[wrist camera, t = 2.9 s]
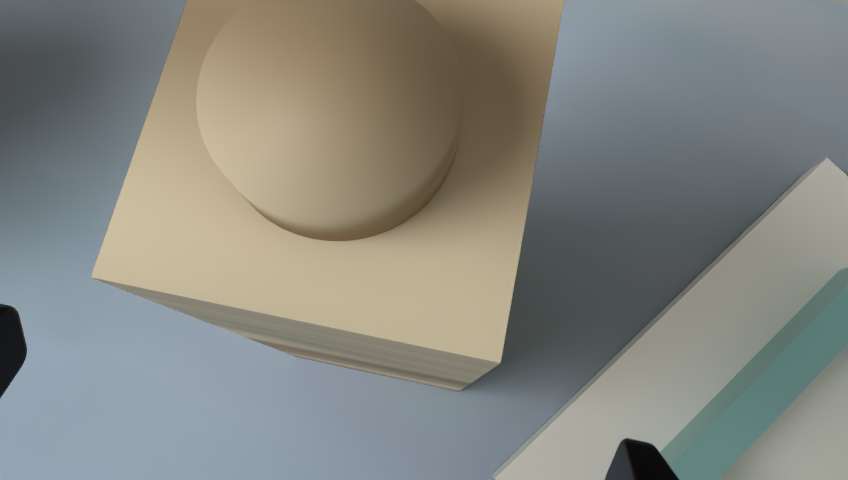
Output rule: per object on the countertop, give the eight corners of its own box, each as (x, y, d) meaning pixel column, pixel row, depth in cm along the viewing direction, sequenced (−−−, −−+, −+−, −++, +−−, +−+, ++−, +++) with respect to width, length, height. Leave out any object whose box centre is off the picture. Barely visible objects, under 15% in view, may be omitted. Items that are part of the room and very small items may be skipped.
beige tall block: (458, 391, 19) (510, 356, 6) (296, 356, 19) (41, 258, 7) (488, 232, 20) (581, -59, 8) (335, 202, 21) (182, -124, 8)
